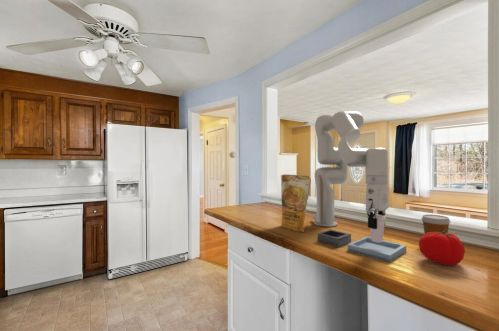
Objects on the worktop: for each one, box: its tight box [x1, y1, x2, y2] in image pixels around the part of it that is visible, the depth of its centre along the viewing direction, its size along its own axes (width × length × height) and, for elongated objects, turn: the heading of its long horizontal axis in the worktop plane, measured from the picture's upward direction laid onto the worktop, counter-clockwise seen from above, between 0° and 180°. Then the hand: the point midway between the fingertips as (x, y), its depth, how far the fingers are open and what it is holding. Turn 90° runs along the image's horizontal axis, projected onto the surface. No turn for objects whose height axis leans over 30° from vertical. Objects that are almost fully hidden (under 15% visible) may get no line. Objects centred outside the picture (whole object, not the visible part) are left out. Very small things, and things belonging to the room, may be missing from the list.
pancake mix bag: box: [280, 174, 312, 233], centre depth 131 cm, size 7×19×28 cm, turn 35°
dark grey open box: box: [316, 228, 352, 248], centre depth 108 cm, size 10×10×4 cm
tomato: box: [418, 231, 466, 266], centre depth 86 cm, size 13×12×11 cm
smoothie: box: [369, 214, 387, 242], centre depth 96 cm, size 6×6×14 cm
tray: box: [347, 236, 407, 263], centre depth 96 cm, size 15×15×2 cm
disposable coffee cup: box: [420, 214, 451, 234], centre depth 102 cm, size 10×10×12 cm
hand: (376, 226), depth 96 cm, fingers closed on smoothie, 6 cm apart
